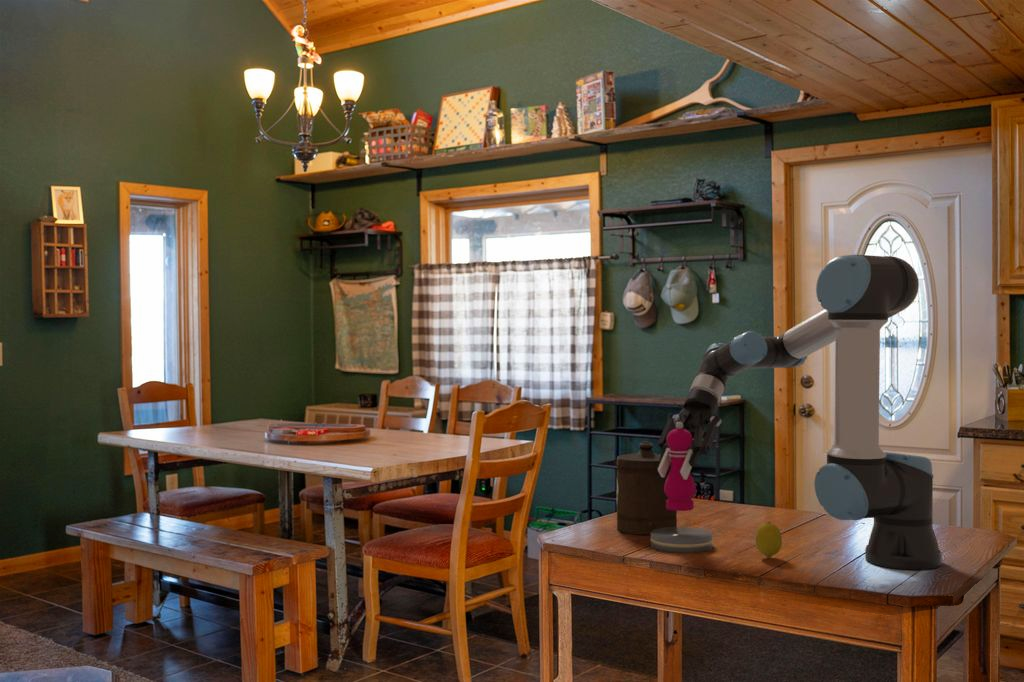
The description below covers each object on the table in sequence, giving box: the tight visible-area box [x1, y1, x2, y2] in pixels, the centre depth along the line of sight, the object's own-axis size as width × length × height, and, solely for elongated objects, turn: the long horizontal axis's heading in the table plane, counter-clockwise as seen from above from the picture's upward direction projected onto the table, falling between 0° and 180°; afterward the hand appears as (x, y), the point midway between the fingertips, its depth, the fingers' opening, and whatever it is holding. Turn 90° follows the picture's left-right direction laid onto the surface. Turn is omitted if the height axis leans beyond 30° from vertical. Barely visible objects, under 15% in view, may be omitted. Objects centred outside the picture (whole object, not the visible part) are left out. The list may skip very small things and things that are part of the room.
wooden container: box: [616, 440, 678, 536], centre depth 245 cm, size 15×15×22 cm
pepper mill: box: [664, 421, 697, 512], centre depth 226 cm, size 7×7×20 cm
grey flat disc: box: [650, 526, 713, 554], centre depth 226 cm, size 14×14×3 cm
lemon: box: [755, 521, 783, 559], centre depth 213 cm, size 6×6×8 cm
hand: (672, 474), depth 223 cm, fingers closed on pepper mill, 5 cm apart
